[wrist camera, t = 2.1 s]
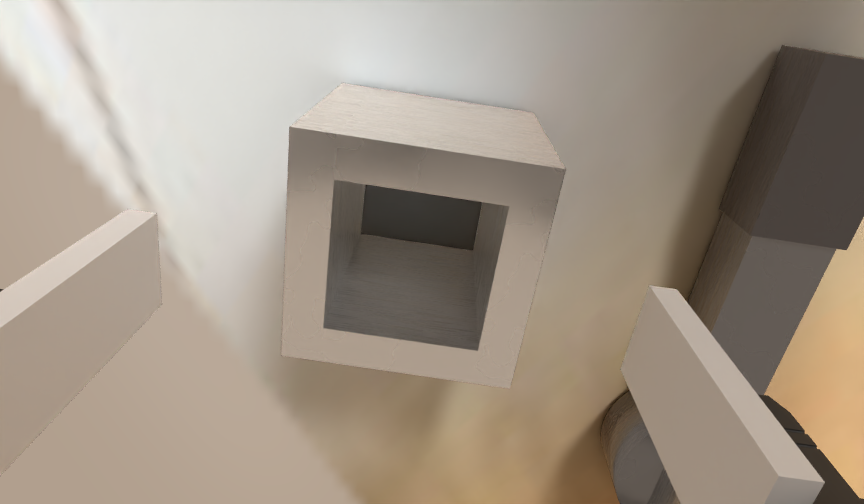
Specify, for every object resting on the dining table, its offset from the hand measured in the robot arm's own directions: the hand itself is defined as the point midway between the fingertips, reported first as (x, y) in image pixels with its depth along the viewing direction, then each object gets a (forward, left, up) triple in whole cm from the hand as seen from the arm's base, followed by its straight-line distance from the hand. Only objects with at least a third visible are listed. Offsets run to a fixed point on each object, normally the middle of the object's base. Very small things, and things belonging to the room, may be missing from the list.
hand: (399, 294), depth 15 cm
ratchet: (+3, +13, -8) cm, 16 cm away
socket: (0, 0, -8) cm, 8 cm away
